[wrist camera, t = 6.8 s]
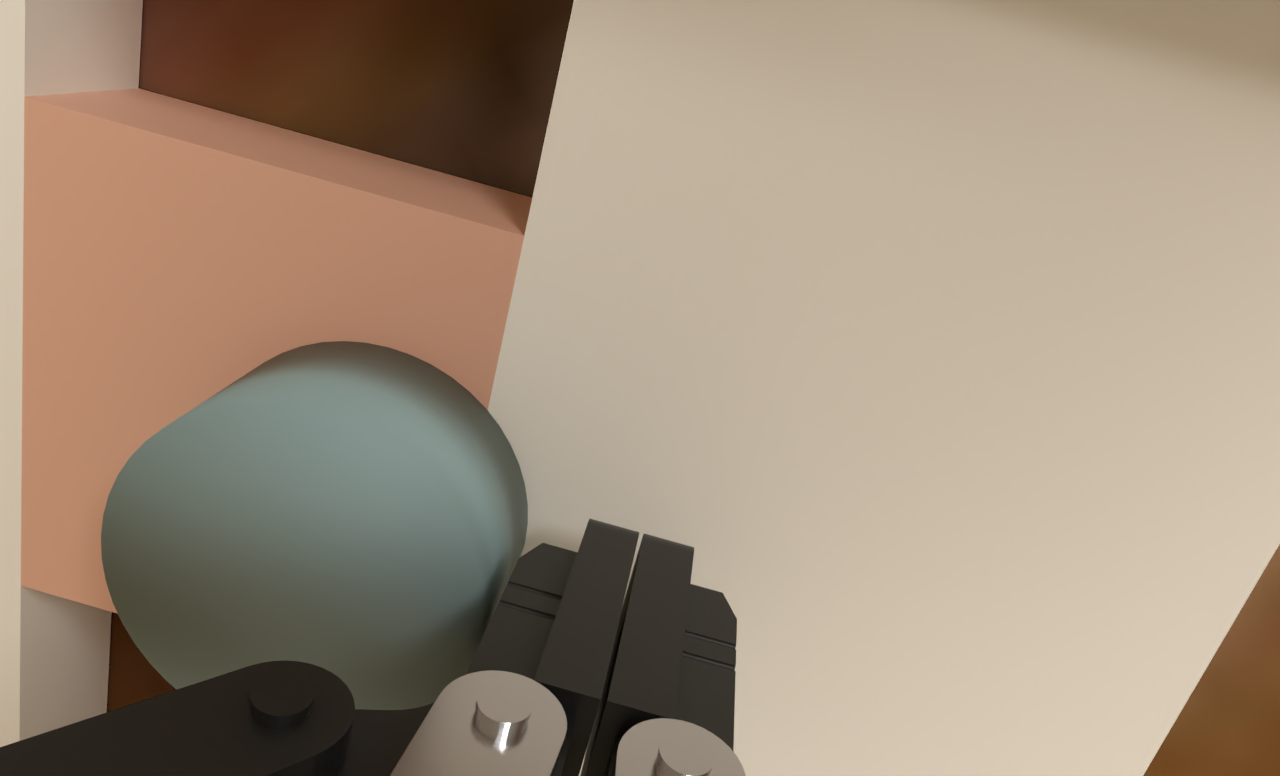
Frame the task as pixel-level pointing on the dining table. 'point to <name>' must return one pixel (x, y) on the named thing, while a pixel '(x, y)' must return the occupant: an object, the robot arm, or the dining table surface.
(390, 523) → the puck
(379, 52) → the dining table surface
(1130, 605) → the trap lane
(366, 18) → the dining table surface
